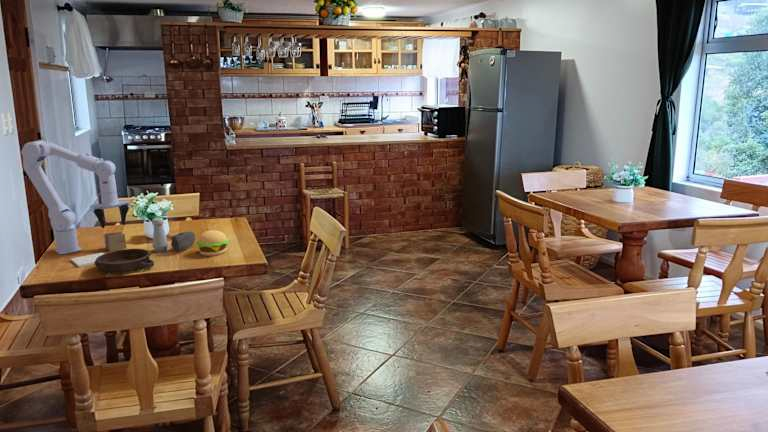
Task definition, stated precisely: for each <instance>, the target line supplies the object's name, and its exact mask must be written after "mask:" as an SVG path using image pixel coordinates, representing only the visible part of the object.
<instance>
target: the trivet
mask: <svg viewBox="0 0 768 432" xmlns="http://www.w3.org/2000/svg"><path fill="white" fill-rule="evenodd" d="M103 254H105V253H104V252H98V253H93V254H87V255H83V256H82V255H81V256H76V257H72V258H70V261H71V262H72V263H74V264H75V265H76V266H77V267H78V268H82V267H87V266H92V265H95V263H94V262H95V261H96V259H97V258H98V257H99V256H101V255H103Z"/></svg>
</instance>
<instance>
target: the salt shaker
mask: <svg viewBox="0 0 768 432" xmlns="http://www.w3.org/2000/svg"><path fill="white" fill-rule="evenodd" d="M164 223H165V220H164V218H162V217H155V218H153V219H152V220H151V224H152V225H153V235H152V248H153V250H155V252H156V253H162V252H163V253H164V252H166V251H167V250H168V247H169V242H168V238H167V235H166V231H165V229H164Z"/></svg>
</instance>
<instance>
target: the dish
mask: <svg viewBox="0 0 768 432" xmlns="http://www.w3.org/2000/svg"><path fill="white" fill-rule="evenodd" d="M151 255H152V252H151V251H150V250H147V249H144V248H126V249H122V250H117V251H112V252H110V251H108V252H107V253H104V254H103V255H101V256H99V257H98V258H97V259H96V261H95V262H94V263H95V264H94V265H95V267H98V268H100V269H101V270H102V271H103V272H105V273H109V274H125V273H128V274H129V273H133V272H137V271H140V270H143V269H150V268H153V267H154V265H155V261H153V259H150V257H151Z"/></svg>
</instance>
